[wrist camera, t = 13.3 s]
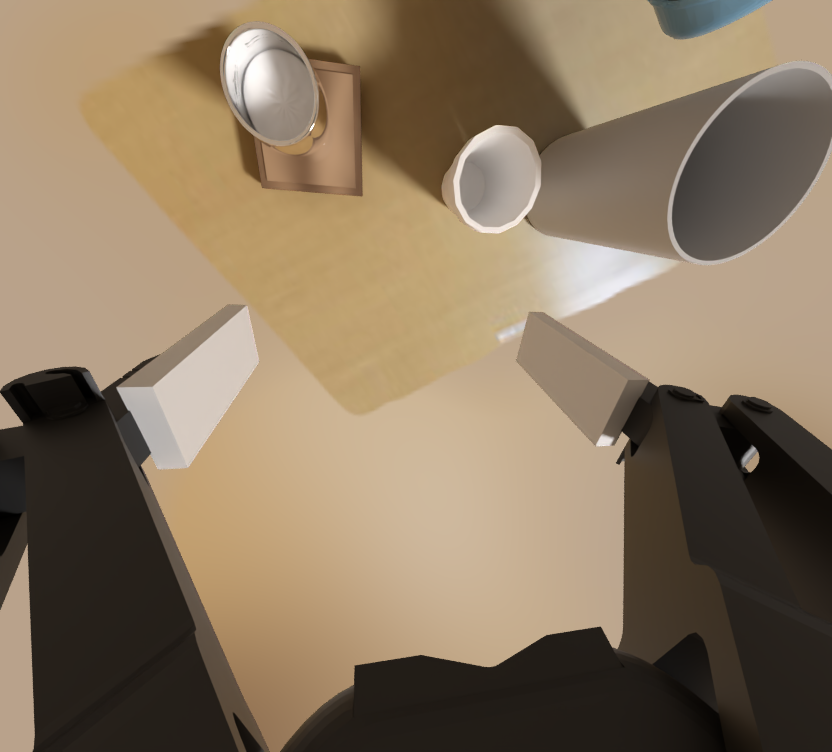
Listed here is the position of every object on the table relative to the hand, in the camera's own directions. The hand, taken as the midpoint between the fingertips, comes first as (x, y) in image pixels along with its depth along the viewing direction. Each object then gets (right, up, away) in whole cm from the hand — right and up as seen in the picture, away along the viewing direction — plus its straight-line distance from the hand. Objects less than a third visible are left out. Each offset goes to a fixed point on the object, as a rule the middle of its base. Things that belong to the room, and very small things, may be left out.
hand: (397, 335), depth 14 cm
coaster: (-12, +28, +22) cm, 38 cm away
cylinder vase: (+22, +26, +29) cm, 45 cm away
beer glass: (-12, +26, +20) cm, 35 cm away
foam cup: (+8, +25, +28) cm, 38 cm away
